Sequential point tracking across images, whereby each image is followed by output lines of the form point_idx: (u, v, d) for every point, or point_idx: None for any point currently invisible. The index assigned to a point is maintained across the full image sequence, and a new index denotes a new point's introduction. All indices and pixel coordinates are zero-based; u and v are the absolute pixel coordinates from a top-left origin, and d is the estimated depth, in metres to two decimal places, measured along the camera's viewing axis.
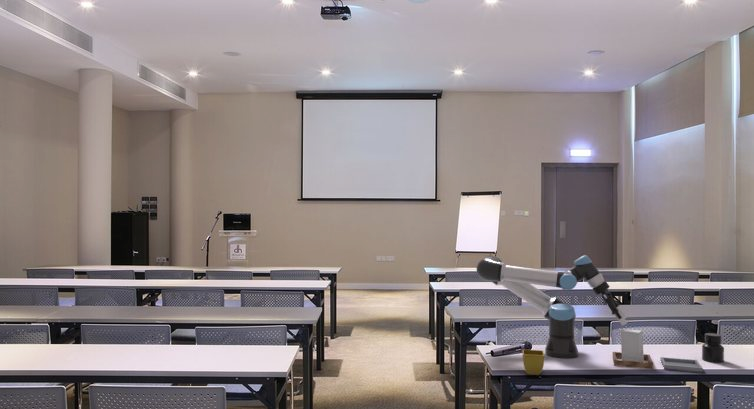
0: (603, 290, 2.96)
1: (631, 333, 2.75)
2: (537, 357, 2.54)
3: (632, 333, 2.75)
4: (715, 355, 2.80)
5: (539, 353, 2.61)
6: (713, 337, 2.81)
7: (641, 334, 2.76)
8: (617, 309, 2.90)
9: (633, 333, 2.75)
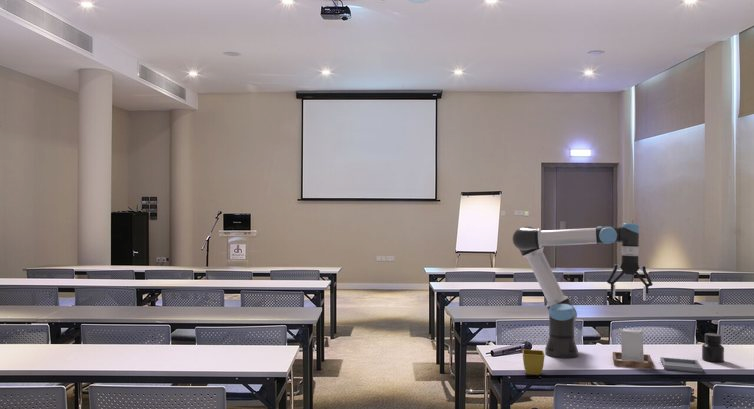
0: None
1: (631, 333, 2.75)
2: (537, 357, 2.54)
3: (632, 333, 2.75)
4: (715, 355, 2.80)
5: (539, 353, 2.61)
6: (713, 337, 2.81)
7: (641, 334, 2.76)
8: (613, 282, 2.95)
9: (633, 333, 2.75)
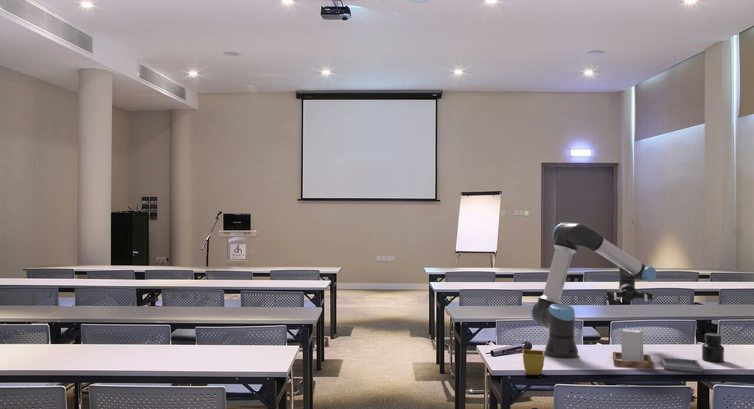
0: None
1: (631, 333, 2.75)
2: (537, 357, 2.54)
3: (632, 333, 2.75)
4: (715, 355, 2.80)
5: (539, 353, 2.61)
6: (713, 337, 2.81)
7: (641, 334, 2.76)
8: None
9: (633, 333, 2.75)
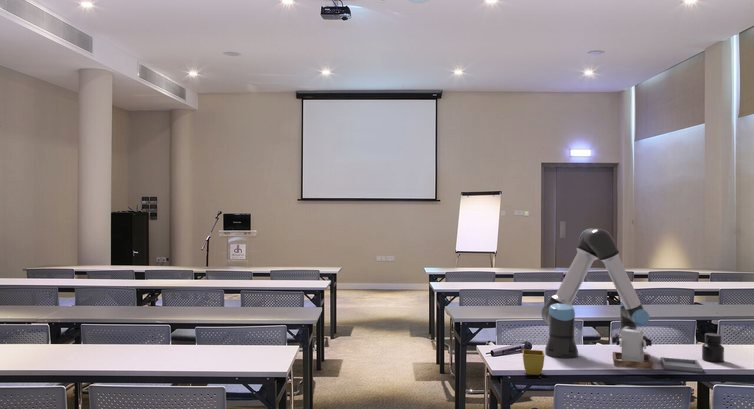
0: None
1: (631, 333, 2.75)
2: (537, 357, 2.54)
3: (632, 333, 2.75)
4: (715, 355, 2.80)
5: (539, 353, 2.61)
6: (713, 337, 2.81)
7: (641, 334, 2.76)
8: None
9: (633, 333, 2.75)
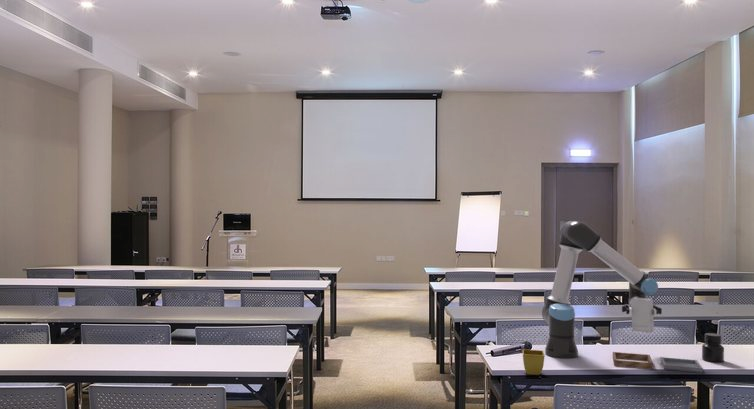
0: None
1: (641, 301, 2.74)
2: (537, 357, 2.54)
3: (642, 301, 2.74)
4: (715, 355, 2.80)
5: (539, 353, 2.61)
6: (713, 337, 2.81)
7: (651, 302, 2.75)
8: None
9: (643, 301, 2.74)
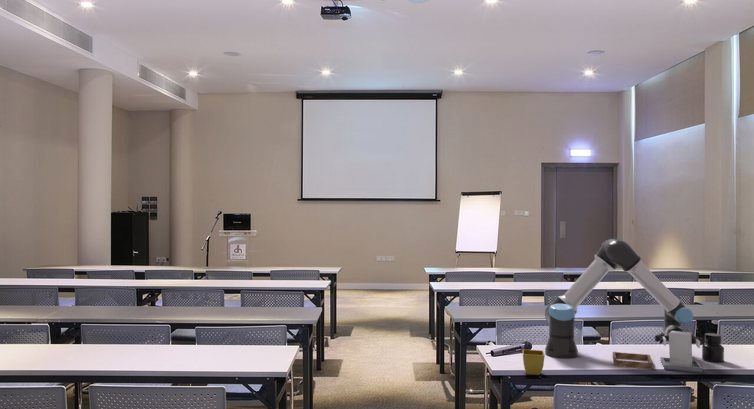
0: None
1: (680, 335, 2.69)
2: (537, 357, 2.54)
3: (681, 335, 2.69)
4: (715, 355, 2.80)
5: (539, 353, 2.61)
6: (713, 337, 2.81)
7: (690, 336, 2.69)
8: None
9: (682, 335, 2.68)
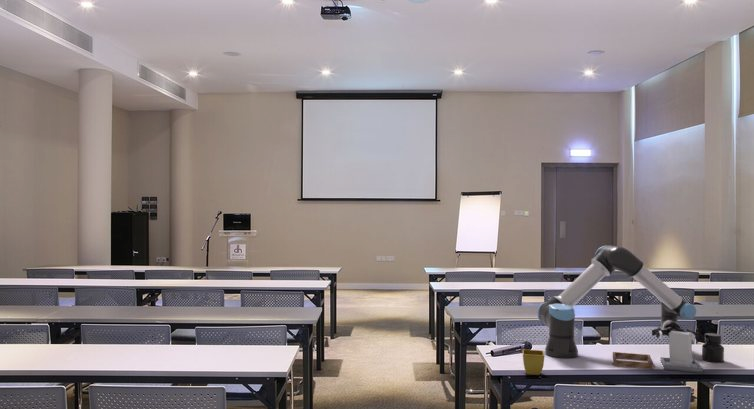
0: None
1: (680, 335, 2.69)
2: (537, 357, 2.54)
3: (681, 335, 2.69)
4: (715, 355, 2.80)
5: (539, 353, 2.61)
6: (713, 337, 2.81)
7: (690, 336, 2.69)
8: None
9: (682, 335, 2.68)
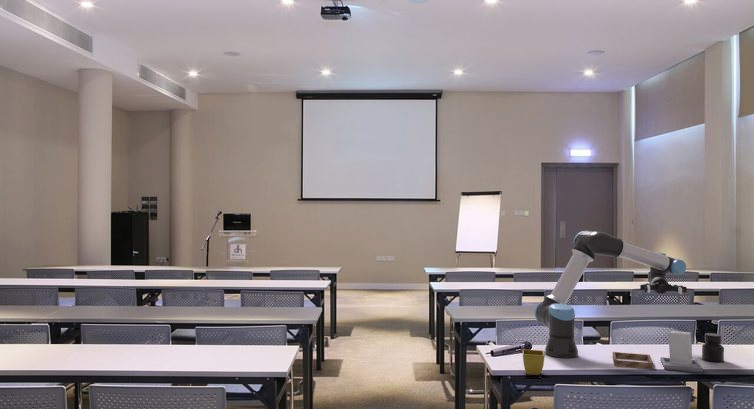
0: None
1: (680, 335, 2.69)
2: (537, 357, 2.54)
3: (681, 335, 2.69)
4: (715, 355, 2.80)
5: (539, 353, 2.61)
6: (713, 337, 2.81)
7: (690, 336, 2.69)
8: (679, 291, 2.91)
9: (682, 335, 2.68)
